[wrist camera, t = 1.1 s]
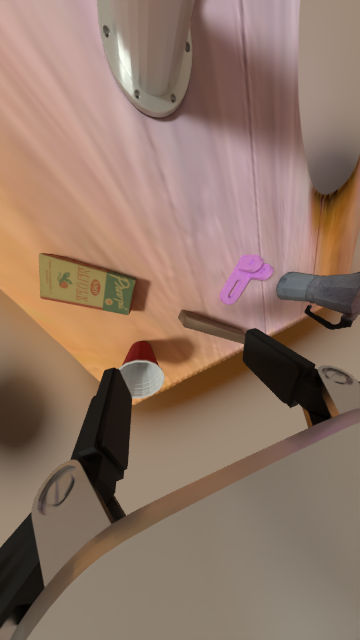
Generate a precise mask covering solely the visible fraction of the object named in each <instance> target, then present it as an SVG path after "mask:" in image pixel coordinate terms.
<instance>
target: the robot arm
mask: <svg viewBox="0 0 360 640" xmlns="http://www.w3.org/2000/svg"><path fill="white" fill-rule="evenodd" d="M194 3H195V0H97V8H98V20H99V27H100V33H101V38H102V42H103V47H104V51H105V55H106V58H107V61H108V64H109V67H110V69H111V71H112V73H113V76H114V78H115V80H116V82H117V83H118V85H119V87H120V88H121V90H122V92H123V93H124V94H125V96H126V97H127V98H128V100H129V101H130V102H131V103H132V104H133V105H134V106H135V107H136V108H137V109H138V110H140V111H142V112H143V113H145V114H146V115H149V116H152V117H159V118H161V117H165V116H168V115H170V114H172V113H173V112H174V111H175V110H176V109H177V108H178V107H179V106H180V104H181V102H182V101H183V99H184V96H185V94H186V91H187V88H188V84H189V80H190V75H191V68H192V38H191V31H190V22H191V17H192V13H193V8H194ZM243 362H244V363H245V364H246V365H247V366H248V367H249V368H250V369H251V371H253V372H254V374H255V375H256V376H258V377H259V379H260V380H261V381H262V382H263V383H264V384H265V385H266V386H267V387H268V388H269V389H270V390H271V391H272V392H273V393H274V394H275V395H276V396H277V397H278V398H279V399H280V400H281V401H282V402H283V403H286V404H287V405H288V406H289V407H290V408H291V407H294V406H296V405H298V404H300V405H301V406H302V409H303V412H304V415H305V419H306V422H307V425H308V429H306V430H304V431H301V432H299V433H297V434H295V435H293V436H291V437H288V438H286V439H284V440H282V441H280V442H278V443H276V444H273V445H271V446H269V447H267V448H265V449H263V450H261V451H259V452H256V453H254V454H252V455H250V456H248V457H246V458H243V459H241V460H239V461H237V462H235V463H233V464H231V465H228V466H227V467H224V468H222V469H220V470H218V471H216V472H214V473H212V474H210V475H207V476H206V477H203V478H201V479H199V480H197V481H195V482H193V483H191V484H189V485H186V486H184V487H182V488H180V489H178V490H176V491H174V492H172V493H170V494H168V495H166V496H164V497H162V498H160V499H158V500H156V501H154V502H152V503H150V504H148V505H146V506H144V507H142V508H140V509H138V510H136V511H134V512H132V513H130V514H129V515H127V516H126V514H125V513H124V511H123V510H122V508H121V506H120V504H119V503H118V501H117V499H116V497H115V496H114V493H115V488H116V481H119V480H121V479H123V477H124V470H126V469H127V466H128V454H129V439H130V423H131V408H132V396H131V393H130V391H129V389H128V387H127V385H126V383H125V380H124V378H123V376H122V374H121V372H120V370H119V369H116V368H111V369H107V370H105V371H104V373H103V376H102V379H101V382H100V385H99V388H98V391H97V394H96V396H94V397H93V398H92V400H91V403H90V405H89V408H88V411H87V414H86V417H85V420H84V423H83V425H82V428H81V431H80V434H79V437H78V440H77V443H76V445H75V448H74V451H73V454H72V457H71V460H69V461H66V462H64V463H63V464H61V465H60V466H58V467H57V468H56V469H55V470H54V471H53V472H52V473H51V474H50V475H49V476H48V477H47V479H46V480H45V481H44V483H43V484H42V486H41V487H40V489H39V491H38V493H37V495H36V497H35V499H34V503H33V506H32V512H31V513H30V514H29V515H28V517H27V518H26V519H25V520H24V521H23V522H22V524H21V525H20V526H19V527H18V528H17V529H16V530H15V532H14V533H13V534H12V535H11V536H10V537H9V538H8V540H7V541H6V542H5V543H4V544H3V545H2V547H1V548H0V640H360V382H359V381H357V380H356V379H355V378H354V377H353V376H352V375H351V374H349V373H348V372H345V371H344V370H342V369H339V368H337V367H333V366H326V365H325V366H320V367H318V370H317V369H315V368H314V367H315V364H314V363H312V362H310V361H309V360H307V359H306V358H304V357H302V356H301V355H299V354H297V353H296V352H294V351H293V350H291V349H289V348H287V347H286V346H284V345H283V344H281V343H279V342H278V341H276V340H274V339H273V338H271V337H270V336H268V335H266V334H265V333H263V332H261V331H260V330H258V329H256V328H254V329H250V330H248V331H247V333H246V334H245V342H244V351H243Z"/></svg>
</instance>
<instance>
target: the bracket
mask: <svg viewBox="0 0 360 640" xmlns="http://www.w3.org/2000/svg"><path fill="white" fill-rule="evenodd" d="M272 273H273V267H271V266H270V265H269V264H263V259H262V258H261V257H260V256H259V255H242V257H241V258H240V260H239V262H238V263H237V265H236V267H235V268H234V270H233V272H232V274H231V275H230V277H229V279H228V280H227V282H226V284H225V285H224V287H223V289H222V291H221V293H220V299H221V301H222V302H223V303H225V304H233V303H234V302H236V301H237V299H238V298H239V296H240V295H241V293H242V291H243V290H244V288H245V287H246V285H247V283H248V282H249V280H250V279H256V280H266V279H268V278H269V277H270V276H271V275H272ZM237 280H238V284H237V286H236V288H235V289H234V291H233V293H232V294H231V296H230V297H228V294H229V293H230V291H231V289H232V288H233V286H234V284H235V283H236V281H237Z"/></svg>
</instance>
